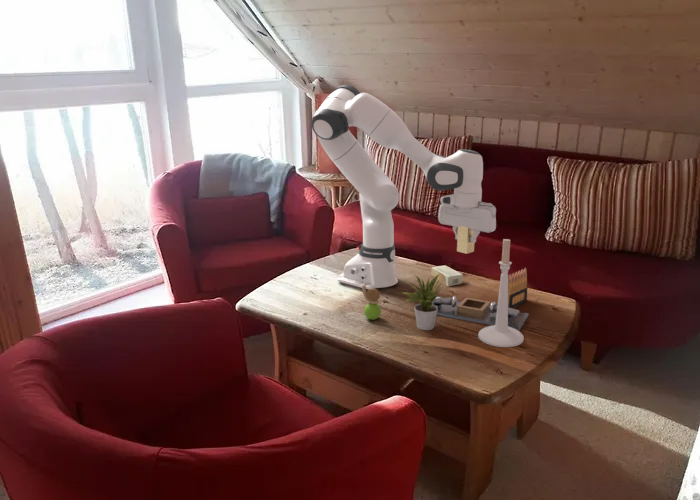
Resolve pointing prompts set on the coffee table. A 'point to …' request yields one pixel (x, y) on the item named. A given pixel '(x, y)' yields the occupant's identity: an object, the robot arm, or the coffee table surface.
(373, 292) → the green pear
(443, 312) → the coupler station
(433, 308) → the house plant
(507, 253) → the candlestick
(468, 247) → the pale yellow block
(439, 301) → the shaft left
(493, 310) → the shaft right
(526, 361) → the coffee table surface
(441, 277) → the skincare box
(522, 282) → the ammunition clip
